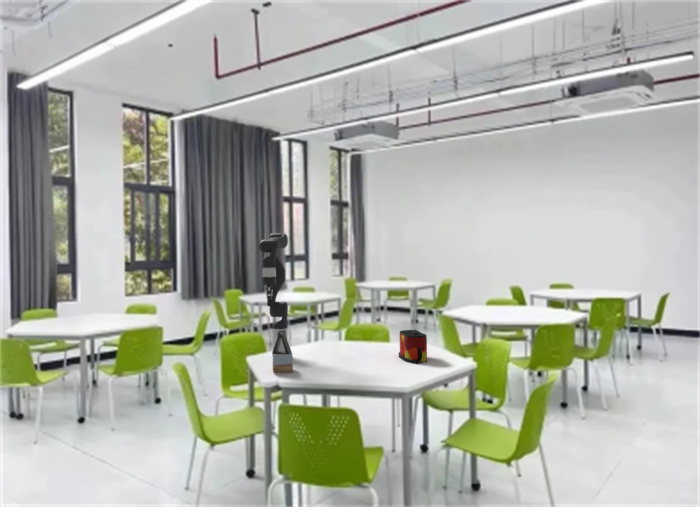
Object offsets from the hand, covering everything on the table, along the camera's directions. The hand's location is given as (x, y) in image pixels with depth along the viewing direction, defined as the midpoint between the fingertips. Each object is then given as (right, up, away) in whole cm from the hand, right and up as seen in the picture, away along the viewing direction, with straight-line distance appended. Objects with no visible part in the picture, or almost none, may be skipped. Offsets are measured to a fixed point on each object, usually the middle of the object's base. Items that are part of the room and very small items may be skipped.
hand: (269, 305), depth 288 cm
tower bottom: (+9, -34, -11) cm, 37 cm away
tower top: (+9, -29, -11) cm, 33 cm away
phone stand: (+8, -25, -11) cm, 28 cm away
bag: (+81, -34, +19) cm, 90 cm away
